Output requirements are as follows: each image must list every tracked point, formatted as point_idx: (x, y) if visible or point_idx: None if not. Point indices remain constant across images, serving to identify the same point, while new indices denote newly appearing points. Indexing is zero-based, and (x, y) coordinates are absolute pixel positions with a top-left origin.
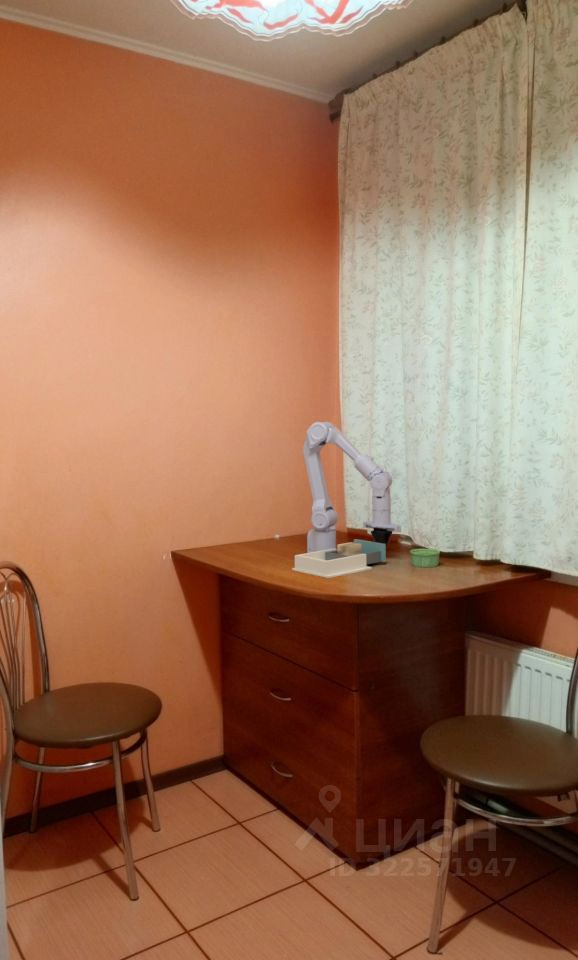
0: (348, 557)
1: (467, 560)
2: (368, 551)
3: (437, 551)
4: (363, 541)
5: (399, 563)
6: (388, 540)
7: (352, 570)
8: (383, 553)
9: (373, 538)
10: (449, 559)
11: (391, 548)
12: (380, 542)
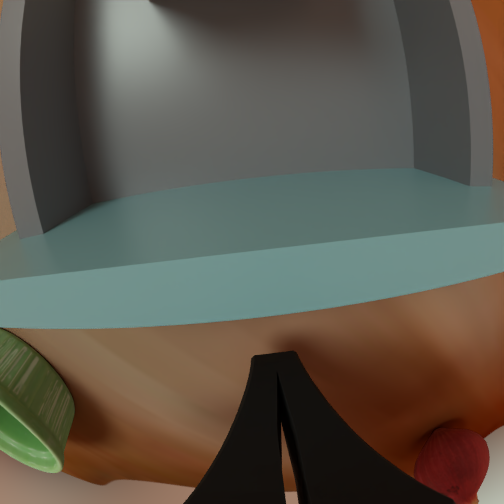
0: None
1: (75, 476)
2: (260, 189)
3: (7, 449)
4: (447, 225)
5: (84, 330)
6: (417, 479)
7: None
8: (10, 236)
9: (484, 443)
10: (104, 474)
11: (413, 457)
12: (239, 440)
